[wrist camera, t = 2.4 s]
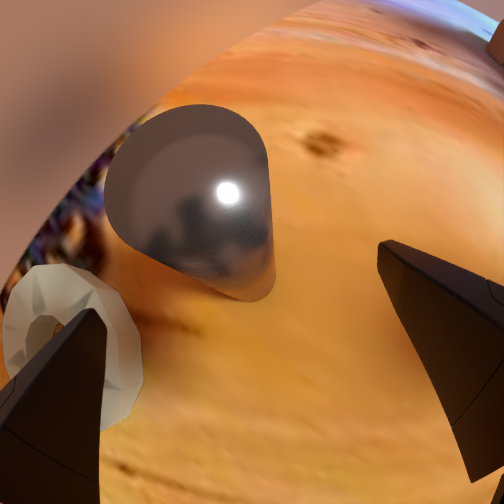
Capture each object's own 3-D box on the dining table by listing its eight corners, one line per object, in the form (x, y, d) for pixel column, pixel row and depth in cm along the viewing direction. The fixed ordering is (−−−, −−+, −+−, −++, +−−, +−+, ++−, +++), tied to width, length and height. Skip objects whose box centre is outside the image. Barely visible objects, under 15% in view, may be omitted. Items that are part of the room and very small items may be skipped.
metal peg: (260, 311, 17) (212, 291, 4) (213, 287, 18) (78, 215, 5) (284, 263, 18) (296, 131, 5) (237, 241, 18) (160, 92, 6)
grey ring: (111, 456, 15) (90, 470, 12) (15, 365, 17) (-8, 366, 15) (170, 325, 17) (151, 325, 14) (56, 246, 19) (32, 236, 16)
